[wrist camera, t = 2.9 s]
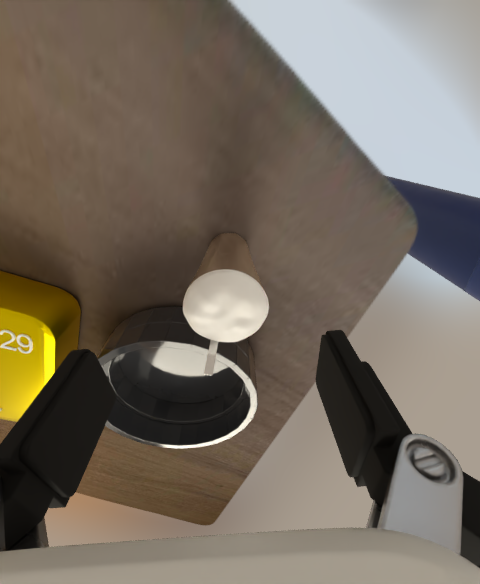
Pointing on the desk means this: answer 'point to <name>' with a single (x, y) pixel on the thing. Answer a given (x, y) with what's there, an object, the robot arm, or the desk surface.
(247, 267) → the milkshake
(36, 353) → the element tile
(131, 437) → the pan
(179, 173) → the desk surface
